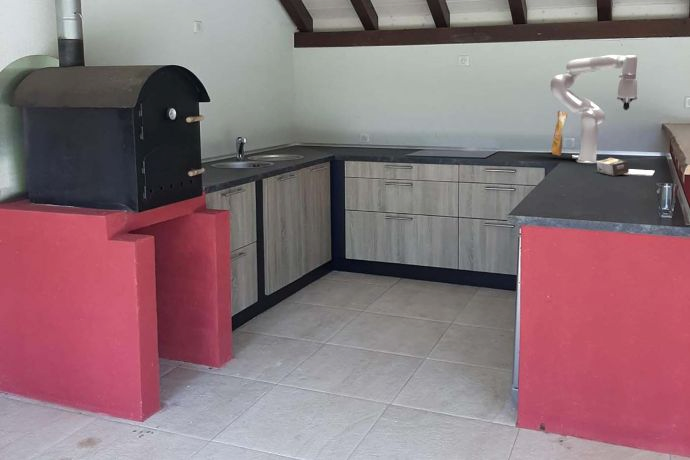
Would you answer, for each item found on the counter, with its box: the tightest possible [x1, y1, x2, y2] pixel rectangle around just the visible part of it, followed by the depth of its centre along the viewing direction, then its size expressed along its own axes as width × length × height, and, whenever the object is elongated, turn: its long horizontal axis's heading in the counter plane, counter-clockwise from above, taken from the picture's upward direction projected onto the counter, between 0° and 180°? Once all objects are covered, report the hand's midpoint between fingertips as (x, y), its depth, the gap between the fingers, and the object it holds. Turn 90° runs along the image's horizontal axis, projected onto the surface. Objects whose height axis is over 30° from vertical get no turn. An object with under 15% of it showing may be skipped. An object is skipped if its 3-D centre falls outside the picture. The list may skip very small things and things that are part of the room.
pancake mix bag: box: [551, 110, 568, 156], centre depth 481 cm, size 7×19×28 cm, turn 173°
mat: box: [624, 168, 655, 177], centre depth 397 cm, size 20×16×1 cm
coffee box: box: [596, 157, 629, 177], centre depth 393 cm, size 9×6×16 cm
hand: (626, 109), depth 422 cm, fingers closed
